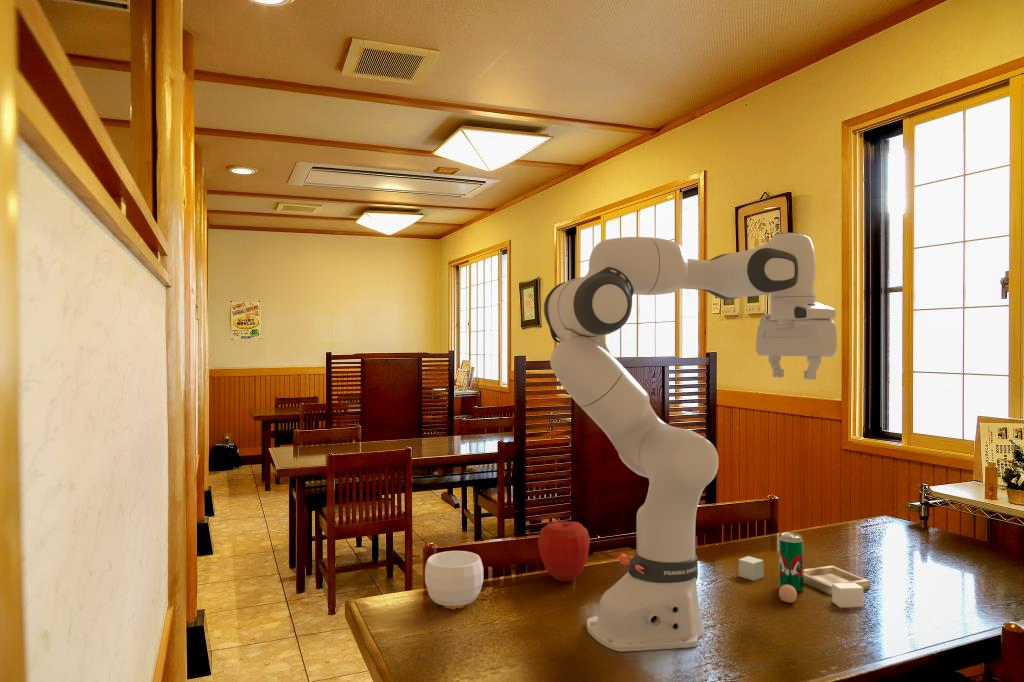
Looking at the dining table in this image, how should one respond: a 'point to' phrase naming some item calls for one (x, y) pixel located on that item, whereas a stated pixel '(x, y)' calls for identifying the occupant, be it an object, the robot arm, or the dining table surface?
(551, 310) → the robot arm
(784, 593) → the terracotta ball
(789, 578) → the soda can
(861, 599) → the cream block
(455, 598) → the cup
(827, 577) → the tray
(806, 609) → the dining table surface
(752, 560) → the sage block
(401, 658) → the dining table surface
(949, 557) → the dining table surface
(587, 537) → the apple
